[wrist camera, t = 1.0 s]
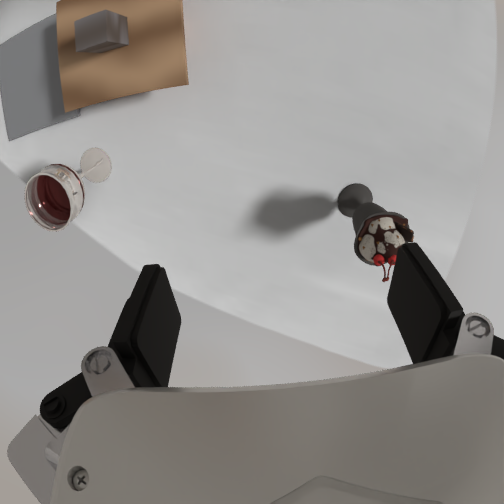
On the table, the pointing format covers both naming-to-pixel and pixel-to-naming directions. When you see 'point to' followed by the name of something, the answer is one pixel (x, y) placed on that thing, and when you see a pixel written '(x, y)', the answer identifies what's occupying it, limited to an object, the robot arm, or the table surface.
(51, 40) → the mat
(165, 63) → the cover
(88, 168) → the wineglass
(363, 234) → the sundae
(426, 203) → the table surface
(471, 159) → the table surface
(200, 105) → the table surface
